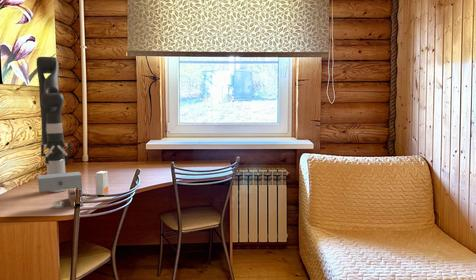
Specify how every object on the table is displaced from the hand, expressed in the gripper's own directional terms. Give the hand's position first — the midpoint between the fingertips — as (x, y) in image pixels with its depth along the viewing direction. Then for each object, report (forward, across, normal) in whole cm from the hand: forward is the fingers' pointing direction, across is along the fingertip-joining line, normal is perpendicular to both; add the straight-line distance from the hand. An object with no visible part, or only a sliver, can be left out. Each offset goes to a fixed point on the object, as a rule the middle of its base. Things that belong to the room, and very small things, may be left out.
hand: (56, 163), depth 221 cm
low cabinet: (+18, 0, +22) cm, 28 cm away
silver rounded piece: (+18, +1, +22) cm, 28 cm away
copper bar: (+18, -5, +16) cm, 25 cm away
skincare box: (+18, -21, +7) cm, 28 cm away
